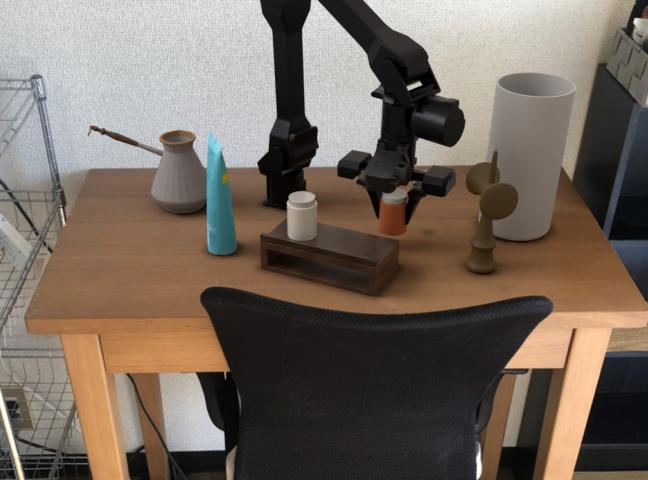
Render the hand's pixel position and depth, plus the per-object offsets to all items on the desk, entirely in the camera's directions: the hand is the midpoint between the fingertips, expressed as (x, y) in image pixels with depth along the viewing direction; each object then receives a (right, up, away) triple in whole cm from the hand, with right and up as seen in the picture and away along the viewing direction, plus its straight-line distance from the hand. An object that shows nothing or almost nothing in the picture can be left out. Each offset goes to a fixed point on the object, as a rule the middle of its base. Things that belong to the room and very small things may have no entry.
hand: (392, 221), depth 142 cm
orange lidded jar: (0, -1, +1) cm, 2 cm away
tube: (-29, -5, +1) cm, 29 cm away
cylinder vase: (+22, 0, +9) cm, 24 cm away
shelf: (-11, -8, -4) cm, 14 cm away
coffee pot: (-42, +6, +15) cm, 45 cm away
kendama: (+14, -9, -3) cm, 17 cm away
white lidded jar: (-15, -3, -5) cm, 16 cm away
